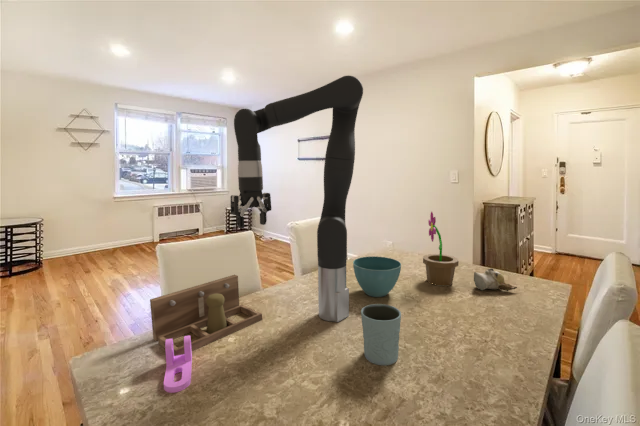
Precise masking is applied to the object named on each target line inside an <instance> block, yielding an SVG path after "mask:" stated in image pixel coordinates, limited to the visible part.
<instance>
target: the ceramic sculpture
mask: <svg viewBox="0 0 640 426" xmlns="http://www.w3.org/2000/svg"><path fill="white" fill-rule="evenodd" d="M473 281H474V284H475V287H476V288H478V290H479V289H480V291H484V290H486V289H489V290H493V289H498V290H502V291H506V292H507V291H511V290H515V289H517V288H518V287H517V286H514V285H512V284H509V283H506V282H505V277H504V275H503V274H502V273H500V272H499V271H497V270H494V268H488V269H486V270H485V271H484V272H482V273H481V272H478V271H477V272H476V271H474V272H473Z"/></svg>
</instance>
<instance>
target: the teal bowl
mask: <svg viewBox="0 0 640 426" xmlns="http://www.w3.org/2000/svg"><path fill="white" fill-rule="evenodd" d="M352 264H353V265H352V268H353V273H354V276H355V279H356V281H357V283H358V285H359V287H360V288H361V289H362V291H363V292H364V293H365V294H366V295H368V296H369V297H372V298H382V297H386V296H387V295H388V294H389V293H391V292H392V290H393V289H394V287H395V286H396V284H397V282H398V280H399V278H400V275H401V271H402V269H401V268H402V263H401V262H400V261H399V260H397V259H395V258H391V257H386V256H378V255H377V256H375V255H374V256H362V257H358V258H356V259H354V260H353V262H352Z"/></svg>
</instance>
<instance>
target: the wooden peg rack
mask: <svg viewBox="0 0 640 426" xmlns="http://www.w3.org/2000/svg"><path fill="white" fill-rule="evenodd" d="M239 289H240V288H239V275H237V274H232V275H229V276H225V277H222V278H219V279H215V280H211V281H208V282H205V283H201V284H198V285H194V286H191V287H187V288H184V289H181V290H177V291H174V292H171V293H167V294H164V295H161V296H157V297H153V298H151V299H149V303H150V304H149V305H150V306H149V307H150V314H151V325H152V326H151V327H152V339H153V340H154V341H155V342H158V344H159V345H160V346H161V347H162V348H164V349H165V342H166V339H171V338H172V339H173V340H175V339H177V338H180V337H182V336H183V337H184V336H186V335H187V334H191V333H192V334H193V335H195V336H196V337H197V338H198V339H196V340H193V341H191V350H192V352H194V351H196V350H197V349H198V350H199V349H200V348H202V347H204V346H207V345H208V344H209V345H210V344H211V343H213V342H215V341H218V340H219V339H222V338H224V337H227V336H228V335H231V334H234V333H235V332H237V331H240V330H242V329H245V328H247V327H250V326H251V325H254V324H255V323H258V322H261V321H262V320H263V313H261V312H260V311H256V310H254V309H252V308H250V307H248V306H246V305H244V304H240V293H239V292H240V291H239ZM212 294H222V295H223V296H224V304H223V308H224V313H225V318H226V323H227V327H226V328H223V329H221V330H219V331H216V332H214V333H212V334H208V333H207V331H205V330H203V329H202V328H205V327H207V321H208V309H209V307H208V306H207V303H206V300H207V297H208V296H209V295H212ZM241 313H243V314H245V315H247V316H248V317H247V318H245V319H243V320H240V321H238V322H236V321H234V320H231V319H230V318H229V317H232V316H234V315H238V314H241ZM173 348H174V356H178V355H183V354H185V352H184V344H183V345H181V346H179V347H177V346H176V344H174V343H173Z"/></svg>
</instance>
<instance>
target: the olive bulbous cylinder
mask: <svg viewBox="0 0 640 426" xmlns="http://www.w3.org/2000/svg"><path fill="white" fill-rule="evenodd" d="M206 303H207V306H208V307H209V309H208V321H207V326H206V333H208V334H212V333H214V332H216V331H219V330H221V329H223V328H226V327H227V323H226V318H225V313H224V308H223V304H224V296H223V295H222V294H212V295H209V296H208V297H207V300H206Z"/></svg>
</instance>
